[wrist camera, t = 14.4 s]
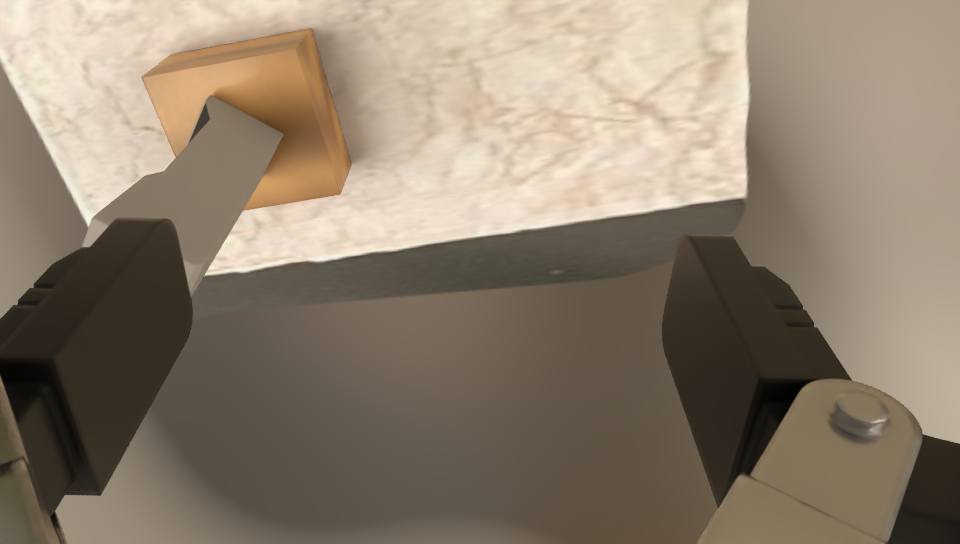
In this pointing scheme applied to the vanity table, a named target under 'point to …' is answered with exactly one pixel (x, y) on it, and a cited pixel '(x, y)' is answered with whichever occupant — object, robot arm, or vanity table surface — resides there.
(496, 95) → the vanity table surface
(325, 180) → the maple block
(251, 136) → the vintage mobile phone
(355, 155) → the vanity table surface
